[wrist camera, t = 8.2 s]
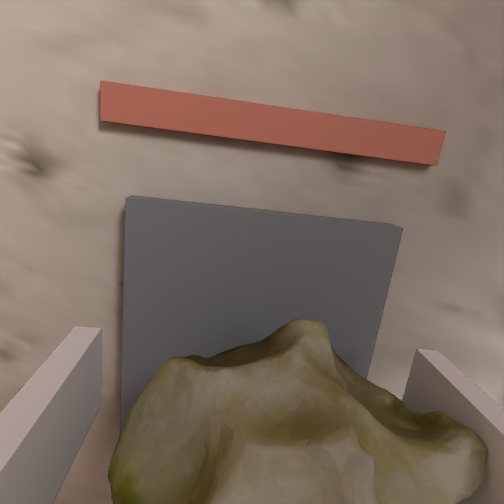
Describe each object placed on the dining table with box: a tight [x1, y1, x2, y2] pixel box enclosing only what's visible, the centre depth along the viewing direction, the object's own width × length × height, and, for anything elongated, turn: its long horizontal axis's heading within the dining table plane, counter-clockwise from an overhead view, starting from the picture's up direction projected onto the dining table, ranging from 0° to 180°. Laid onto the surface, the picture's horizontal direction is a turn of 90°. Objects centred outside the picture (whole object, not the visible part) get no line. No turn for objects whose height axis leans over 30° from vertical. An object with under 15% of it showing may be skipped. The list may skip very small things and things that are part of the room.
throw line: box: [100, 81, 446, 165], centre depth 12 cm, size 1×12×1 cm, turn 83°
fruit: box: [108, 318, 488, 504], centre depth 9 cm, size 9×9×8 cm
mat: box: [112, 196, 403, 500], centre depth 13 cm, size 12×10×2 cm
